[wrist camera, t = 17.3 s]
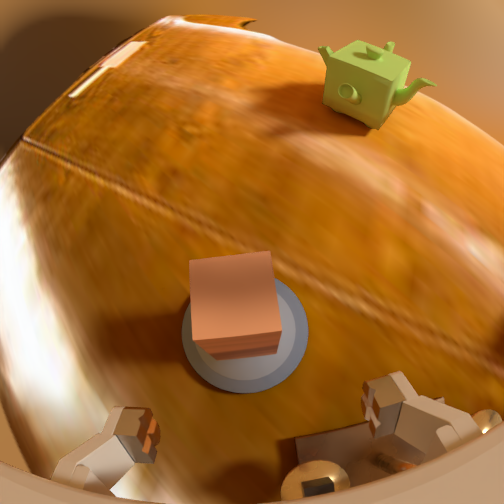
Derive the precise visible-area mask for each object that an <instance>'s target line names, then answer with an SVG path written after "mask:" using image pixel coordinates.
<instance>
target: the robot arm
mask: <svg viewBox="0 0 504 504" xmlns="http://www.w3.org/2000/svg"><path fill="white" fill-rule="evenodd" d="M362 389H363V391H364V394H363V396H362V397H361V407H362V412H363V415H364V417H365V419H367V420H369V429H370V431H371V433H372V436H373V438H374V439H375V438H378V437H382V436H385V435H389V434H392V433H394V434H395V435H397V436H398V437H400V438H402V439H403V440H405V441H406V442H408V443H409V444H411V445H412V446H414V447H416V448H417V449H419V450H420V451H422V452H424V453H425V454H426V455H425V457H424V459H423V461H422V463H421V464H420V465H418V466H415V467H413V468H410V469H407V470H405V471H402V472H399V473H397V474H394V475H391V476H388V477H385V478H382V479H379V480H376V481H373V482H369V483H366V484H362V485H359V486H355V487H351V488H348V489H344V490H339V491H335V492H331V493H326V494H321V495H316V496H311V497H305V498H299V499H293V500H286V501H278V502H269V503H259V504H504V421H502V422H501V423H499V424H498V425H496V426H495V427H493V428H491V429H490V430H488V431H486V432H485V433H483V432H482V431H481V430H480V428H479V427H478V425H477V424H476V423H475V421H474V420H473V419H472V417H471V416H470V415H469V414H468V413H466V412H463V411H460V410H458V409H455V408H453V407H450V406H448V405H445V404H442V403H440V402H437V401H435V400H433V399H430V398H428V397H425V396H423V395H421V396H418V395H417V393H416V392H415V390H414V389H413V387H412V386H411V384H410V383H409V381H408V380H407V379H406V377H405V376H404V374H403V373H402V372H401V371H398V372H394V373H391V374H388V375H385V376H381V377H378V378H374V379H370V380H367V381H364V383H363V388H362ZM152 416H153V413H152V411H151V409H150V408H141V407H120V406H115V407H113V408H112V410H111V412H110V414H109V417H108V419H107V421H106V423H105V426H104V428H103V430H102V432H101V434H100V433H98V434H96V435H95V436H93V437H92V438H91V439H89V440H88V441H86V442H85V443H83V444H82V445H81V446H79V447H78V448H76V449H75V450H73V451H72V452H70V453H69V454H67V455H66V456H64V457H63V458H61V459H60V460H59V462H58V464H57V466H56V468H55V471H54V473H53V475H52V477H51V479H50V480H48V479H45V478H42V477H39V476H36V475H33V474H31V473H28V472H26V471H23V470H21V469H18V468H15V467H13V466H11V465H8V464H6V463H4V462H2V461H0V504H164V503H154V502H145V501H138V500H131V499H125V498H119V497H116V496H115V495H114V494H113V493H112V492H111V491H110V489H111V488H112V487H113V486H114V485H115V484H116V483H117V482H118V481H119V480H120V479H121V478H122V477H123V476H124V475H125V474H126V472H127V471H128V470H129V469H130V468H131V467H132V466H133V465H134V464H135V463H152V464H154V462H155V458H156V454H157V450H156V448H155V446H156V445H157V444H159V442H160V428H159V425H158V423H157V421H155V420H154V419H152Z"/></svg>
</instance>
